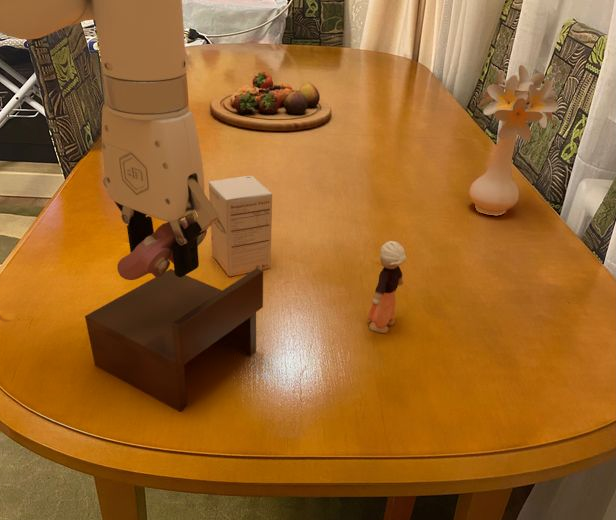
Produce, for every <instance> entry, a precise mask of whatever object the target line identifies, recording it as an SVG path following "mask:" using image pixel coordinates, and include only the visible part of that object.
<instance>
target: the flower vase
mask: <svg viewBox="0 0 616 520" xmlns="http://www.w3.org/2000/svg"><path fill="white" fill-rule="evenodd" d="M505 75H506V69H504V70H503V69H500V70H499V72H498V74H497V76H496V78H495V82H494V84H493V83H492V84H489V85H488V86H487V88H486V90H485V92H484V93H483V94H482V99H483V98H484V99H483V100H482V101H481V102H480V103H479V104H478V105H477V108H479V107H481V106H482V105H485V104H486V103H488V102H490V103H489V104H487V105H486V107H485V108H484V109H483V111H482V113H483V115H485V116H490V115H493V116H494V117H495V119H496V120H498V121H500V122H501V126H500V127H501V128H500V129H499V130H498V135H497V137H498V141H497V144H496V149H495V152H494V155H493V158H492V161H491V163H490V165H489V166H488V168H487V169H486V171H485V172H484V173H483V174H481V175H480V176H479V177H476V179H475V180H473V182H472V183H471V185H470V186H469V189H468V197H469V199H470V201H471V202H472V203H473V204H475V207H476V208H477V209H478V210H479V211H482V212H484V213H488V214H500V213H503V212H505V211H506V210H507V211H508V210H510V209H512V208H513V207H514V206H515V205H517V203H518V201H519V200H520V190H519V186H518V185H517V183H516V181H515V180H514V178H513V174H512V172H513V171H512V161H513V156H514V152H515V151H514V150H515V147H516V142H517V138H518V136H519V138H520V139H522V140H523V141H529V140H530V139H531V137H532V132H531V128H530V125H529V123H530V124H533V123H537V122H538V123H539V125H540V126H541V128H542V129H546V128H547V127H548V120H549V122H550V123H553V113H556V112H557V111H558V110H559V103H558V102H557V101H555V97H556V96H555V95H556V93H555V90H554V89H553V90H552V88H553V85H554V82H555V76H552V79H551V80H549V79H548V80H545V78H546V76H545V73H543V72H542V71H541V72H536V73H534V74H532V76H530V77H529V72H528V69H527V67H526V66H525V65H524V64H519V66H518V76H517V75H515V74H513V75H511V76H510V77H509V78H508V79H505ZM544 80H545V81H544ZM542 83H543V84H542ZM540 85H541V87H539V86H540ZM492 100H494V101H492ZM491 101H492V102H491Z"/></svg>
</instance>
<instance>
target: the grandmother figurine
mask: <svg viewBox="0 0 616 520" xmlns="http://www.w3.org/2000/svg"><path fill="white" fill-rule="evenodd" d="M379 253H380V258H379V259H380V264H381V266H382V270H381V271H380V273H379V274H378V282H377V285H376V288H375V290H374V294H373V298H372V300H371V304H370V307H369V311H368V315H367V320H368V321H371V322H370V323H369V325H368V329H369V330H370V331H372V332H376V333H379V334H387V333H388V332H389V331H390V329H389V326H394V325H395V324H396V320H395V319H394V317H395V314H396V313H395V312H396V304H397V303H396V301H397V300H396V292H397V289H398V287H399V286H400V287H401V286H403V284H404V279H403V272H402V270H401V267H400V266H401V265H403V264H404V263H405V262H406V260H407V256H406V251H405V248H404V246H402V245H401V244H400V243H399V242H397V241H396V240H388V241H386V242H385V243H383V245H381V247H380V251H379Z"/></svg>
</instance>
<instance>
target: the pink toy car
mask: <svg viewBox="0 0 616 520" xmlns="http://www.w3.org/2000/svg"><path fill="white" fill-rule="evenodd" d="M181 222H182V225H183V227H184V229H186V228H187V227H188V224H187V221H186V218H185V217H184V218H183V220H182V219H181ZM207 233H208V229H207V230H206V231H204V232H203V233H202V235H201V236H200V237H198V238H197V245H198V246H200V245H201V244H202V242H203V241H204V240H205V238H206V236H207ZM174 242H176V239H175V236H174V233H173V230H172V228H171V225H170V222H164V223H162V224H161V225H159V226H158V227H157V228H156V230H155V231H154V233H153V234H152V235H150V236H148V237H146V238H145V240H143V241H142V242H141V243H140V244H139V245H138V246H137V247H136V248H135V249H134V250H133V251H132V252H129V254H127V255H125V256H124V257H122V258H121V259H120V260H119V261H118V263H117V266H116V267H117V268H116V269H117V273H118V275H119V277H121V278H122V279H125V280H127V281H137V280H139V279H140V278H142V277H144V276H147V275H148V274H152V275H153V277H154V278H155V277H160V276H161V275H162V274H164V273H165V272H166V271H168V270H169V269H170V268H169V267H170V265H171V263H172V264H173V265H174V261H173V251H172V244H173V243H174Z"/></svg>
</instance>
